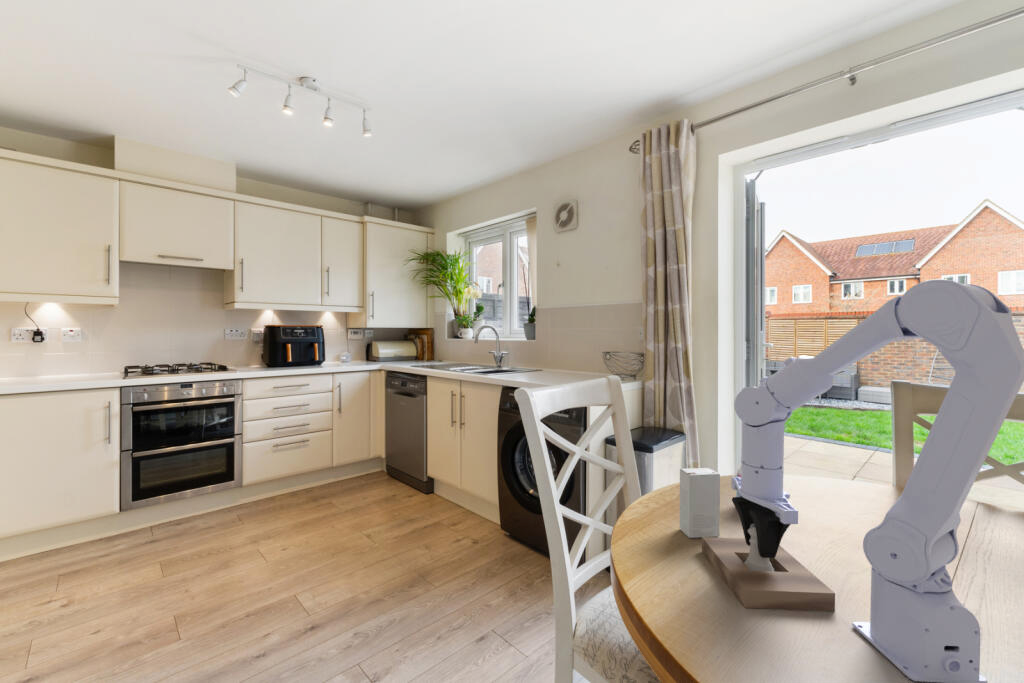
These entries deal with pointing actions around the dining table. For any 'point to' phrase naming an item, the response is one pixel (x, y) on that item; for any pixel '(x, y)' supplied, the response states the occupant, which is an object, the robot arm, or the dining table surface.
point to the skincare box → (699, 502)
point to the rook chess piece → (756, 554)
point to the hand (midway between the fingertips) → (760, 550)
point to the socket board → (767, 578)
